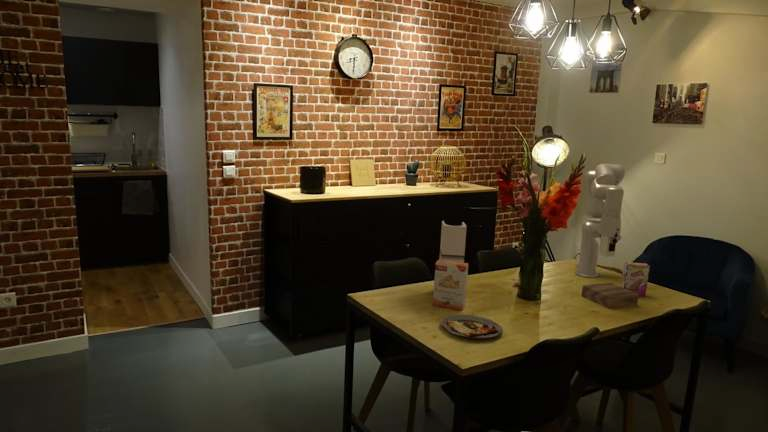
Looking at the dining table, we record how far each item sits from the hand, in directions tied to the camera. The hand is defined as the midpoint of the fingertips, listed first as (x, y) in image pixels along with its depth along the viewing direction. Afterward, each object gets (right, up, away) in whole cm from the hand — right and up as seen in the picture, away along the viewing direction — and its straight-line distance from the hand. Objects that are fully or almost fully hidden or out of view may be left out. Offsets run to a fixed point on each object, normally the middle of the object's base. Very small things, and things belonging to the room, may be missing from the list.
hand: (607, 249), depth 260 cm
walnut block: (+2, -26, +4) cm, 26 cm away
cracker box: (-79, -25, -16) cm, 85 cm away
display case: (-77, -22, +1) cm, 80 cm away
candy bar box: (+19, -24, +15) cm, 34 cm away
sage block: (0, -3, +1) cm, 3 cm away
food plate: (-73, -31, -42) cm, 90 cm away
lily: (-37, -20, +21) cm, 47 cm away
